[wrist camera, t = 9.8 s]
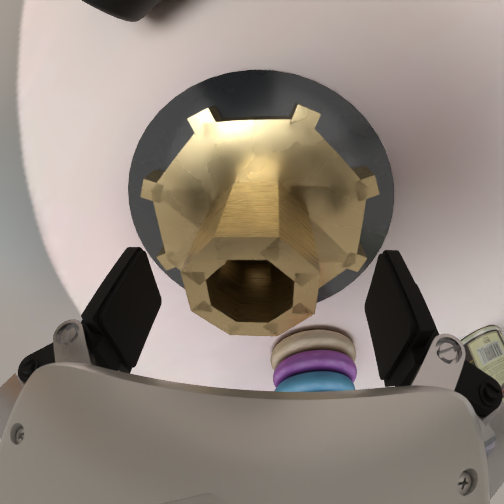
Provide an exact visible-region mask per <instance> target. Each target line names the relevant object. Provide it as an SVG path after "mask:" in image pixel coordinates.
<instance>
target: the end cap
mask: <svg viewBox="0 0 504 504" xmlns="http://www.w3.org/2000/svg"><path fill="white" fill-rule="evenodd" d="M82 1H84V2H86V3H87V4H89V5H91V6H93V7H95V8H97V9H99V10H101V11H103V12H105V13H107V14H109V15H111V16H114V17H116V18H119V19H122V20H125V21H130V22H136V21H139V20H140V19H142V18H143V17H144V16H145V15H146V14H147V13H148V12H149V11H150V10H152V9H153V8H154V7H155V6H156V5H157V4H159V3H160V2H161V1H162V0H82Z"/></svg>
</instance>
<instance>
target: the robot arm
mask: <svg viewBox="0 0 504 504" xmlns="http://www.w3.org/2000/svg"><path fill="white" fill-rule="evenodd" d="M160 306H161V296H160V293H159V290H158V287H157V284H156V281H155V279H154V276H153V273H152V270H151V267H150V264H149V260H148V257H147V254H146V252H145V251H143V250H142V248H140V247H128V248H127V249H126V250H125V251H124V252H123V254H122V255H121V257H120V258H119V259H118V261H117V262H116V264H115V265H114V266H113V268H112V269H111V271H110V272H109V274H108V275H107V276H106V278H105V279H104V281H103V282H102V284H101V285H100V287H99V288H98V290H97V291H96V293H95V294H94V296H93V298H92V299H91V301H90V302H89V304H88V305H87V307H86V309H85V310H84V312H83V313H82V315H81V317H82V319H83V320H82V321H81V323H80V322H79V321H77V320H68V321H65V322H64V323H62V324H61V325H60V326H59V327H58V328H57V329H56V331H55V333H54V335H53V343H51V344H49V345H47V346H45V347H44V348H42V349H40V350H38V351H36V352H34V353H32V354H30V355H28V356H27V357H25V358H24V359H23V361H22V362H21V363H20V365H19V369H18V375H17V374H14V375H13V376H12V377H11V378H10V379H8V381H7V382H5V383H4V384H3V385H2V386H1V387H0V438H1V442H0V504H490V499H491V498H492V497H493V495H494V494H495V493H496V492H497V490H498V489H499V488H500V486H501V485H502V483H503V482H504V402H503V401H502V398H503V393H502V389H501V386H500V384H499V383H498V381H496V380H495V379H494V378H493V377H491V376H490V375H488V374H487V373H485V372H484V371H482V370H480V369H479V368H477V367H476V366H474V365H473V364H471V363H470V362H468V361H467V360H465V354H466V353H465V348H464V346H463V344H462V343H461V341H460V340H459V339H458V338H456V337H455V336H453V335H450V334H440V335H439V333H438V331H437V328H436V326H435V323H434V321H433V319H432V316H431V314H430V312H429V309H428V307H427V305H426V303H425V300H424V298H423V296H422V294H421V292H420V290H419V288H418V286H417V284H415V282H414V280H413V278H412V276H411V274H410V272H409V270H408V268H407V266H406V264H405V262H404V260H403V258H402V256H401V254H400V252H399V251H397V250H385V251H384V252H383V254H379V256H378V260H377V264H376V267H375V271H374V275H373V278H372V282H371V285H370V289H369V292H368V295H367V299H366V302H365V313H366V317H367V321H368V325H369V329H370V334H371V338H372V342H373V347H374V351H375V356H376V361H377V366H378V371H379V376H380V379H381V380H384V383H385V388H375V389H362V390H345V391H324V392H276V391H253V390H238V389H226V388H216V387H207V386H199V385H191V384H184V383H177V382H171V381H165V380H159V379H154V378H148V377H143V376H138V375H134V374H130V372H131V369H132V367H135V366H136V364H137V361H138V359H139V356H140V354H141V351H142V349H143V346H144V344H145V342H146V339H147V337H148V334H149V332H150V330H151V327H152V325H153V322H154V320H155V318H156V315H157V313H158V311H159V309H160ZM118 370H119V371H118ZM389 386H395V387H389Z"/></svg>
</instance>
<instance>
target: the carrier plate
mask: <svg viewBox="0 0 504 504" xmlns="http://www.w3.org/2000/svg"><path fill="white" fill-rule="evenodd" d="M295 102H296V103H299V104H301V105H303V106H306V107H308V108H311V109H313V110H315V111H317V112H319V113H320V114H321V116H320V118H319V120H318V122H317V124H316V127H315V130H316V131H317V132H318V133H319V134H320V135H321V136H322V137H323V138H324V139H325V140H326V141H327V142H328V143H329V144H330V145H331V146H332V147H333V148H334V149H335V151H336V152H337V153H338V154H339V155H340V156H341V157H342V158H343V159H344V161H345V162H346V163H347V164H348V165H349V166H350V167H351V168H352V170H355V169H358V168H361V167H364V166H367V167H368V169H369V170H370V171H371V172H372V173H373V174H374V175H375V178H376V182H377V186H378V190H379V194H380V195H377V196H374V197H371V198H368V199H366V204H365V210H364V217H363V223H362V229H361V234H360V240H359V243H360V244H362V247H363V249H364V251H365V254H366V256H367V260H366V261H365V263H364V264H363V265H362V267H361V268H360V270H359V271H358V272H356V271H353V270H350V269H348V268H347V269H345V270H344V271H343V272H341V273H340V274H338V275H337V276H336V277H334V278H333V279H331V280H330V281H329V282H327V283H326V284H324V285H323V286H321V287H320V288H319V289H318V296H317V302H320V301H322V300H324V299H326V298H328V297H330V296H332V295H334V294H336V293H337V292H339V291H341V290H342V289H344V288H345V287H346V286H348V285H349V284H350V283H351V282H353V281H354V280H355V279H356V278H357V277H358V276H359V275H360V274H361V273H362V272H363V271H364V270H365V269H366V268H367V267H368V265H369V264H370V263H371V262H372V260H373V259H374V258H375V256H376V254H377V253H378V251H379V249H380V248H381V246H382V244H383V242H384V239H385V237H386V235H387V232H388V229H389V226H390V222H391V218H392V212H393V205H394V184H393V177H392V172H391V167H390V164H389V161H388V158H387V155H386V152H385V149H384V147H383V145H382V143H381V141H380V139H379V137H378V136H377V134H376V132H375V131H374V130H373V128H372V127H371V125H370V124H369V123H368V121H367V120H366V119H365V118H364V116H363V115H362V114H361V113H360V112H359V111H358V110H357V109H356V108H355V107H354V106H353V105H352V104H350V103H349V102H348V101H347V100H345V99H344V98H343V97H341V96H340V95H338V94H337V93H336V92H334V91H332V90H331V89H329V88H327V87H325V86H323V85H321V84H319V83H317V82H315V81H312V80H310V79H307V78H304V77H301V76H298V75H295V74H290V73H284V72H279V71H271V70H247V71H238V72H231V73H227V74H223V75H220V76H216V77H213V78H209V79H207V80H205V81H203V82H201V83H198V84H196V85H194V86H192V87H190V88H188V89H187V90H185V91H184V92H182V93H181V94H179V95H178V96H176V97H175V98H174V99H172V100H171V101H170V102H169V103H168V104H167V105H166V106H165V107H164V108H163V109H161V110H160V111H159V113H158V114H157V115H156V116H155V118H154V119H153V120H152V121H151V123H150V124H149V125H148V127H147V128H146V130H145V132H144V133H143V135H142V137H141V139H140V140H139V143H138V145H137V148H136V150H135V153H134V156H133V159H132V163H131V168H130V172H129V184H128V193H129V205H130V210H131V215H132V219H133V222H134V225H135V228H136V231H137V233H138V235H139V237H140V240H141V242H142V244H143V246H144V247H145V249H146V250H147V252H148V253H149V255H150V256H151V258H152V259H153V260H154V261H155V263H156V264H157V265H158V266H159V267H160V268H161V269H162V270H163V271H164V272H165V273H166V274H167V275H168V276H169V277H170V278H171V279H172V280H174V281H175V282H176V283H177V284H179V285H180V286H181V287H183V288H184V289H185V287H184V283H183V280H182V276H181V272H180V271H181V270H179V269H178V268H177V267H175V268H172V269H169V270H167V271H166V270H165V268H164V267H163V266H162V264H161V263H160V262H159V260H158V259H157V258H156V257H157V255H158V253H159V252H160V250H161V248H162V246H163V245H164V244H163V241H162V237H161V233H160V229H159V224H158V220H157V216H156V212H155V207H154V203H153V201H151V200H148V199H145V198H142V197H141V191H142V185H143V179H144V178H145V177H146V176H147V175H149V174H150V173H151V172H152V171H153V170H157V171H161V172H165V171H166V169H167V168H168V167H169V165H170V164H171V163H172V161H173V160H174V159H175V157H176V156H177V155H178V154H179V152H180V151H181V150H182V148H183V147H184V146H185V145H186V143H187V142H188V141H189V140H190V138H191V137H192V136H193V135H194V133H195V132H194V130H193V129H192V127H191V125H190V123H189V121H188V120H187V119H188V118H190V117H192V116H194V115H195V114H197V113H199V112H201V111H203V110H205V109H207V108H209V107H211V106H214V105H215V107H216V109H217V110H218V112H219V114H220V116H221V118H230V117H249V116H290V114H291V112H292V109H293V107H294V105H295ZM317 302H316V303H317Z"/></svg>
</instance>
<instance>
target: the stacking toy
mask: <svg viewBox="0 0 504 504" xmlns="http://www.w3.org/2000/svg"><path fill="white" fill-rule="evenodd" d="M355 357H356V351H355V347H354V345H353V343H352V342H351V340H350V339H348V338H347V337H346V336H344V335H342V334H340V333H337V332H334V331H330V330H308V331H303V332H299V333H296V334H293V335H291V336H289V337H287V338H285V339H283V340H282V341H281V342H279V343H278V344H277V345H276V347H275V348H274V350H273V352H272V355H271V365H272V368H273V369H274V375H273V382H274V385H275V387H276V389H275V391H276V392H324V391H345V390H355V387H354V384H353V382H354V381H355V378H356V375H357V369H356V366H355V363H354V361H355Z"/></svg>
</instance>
